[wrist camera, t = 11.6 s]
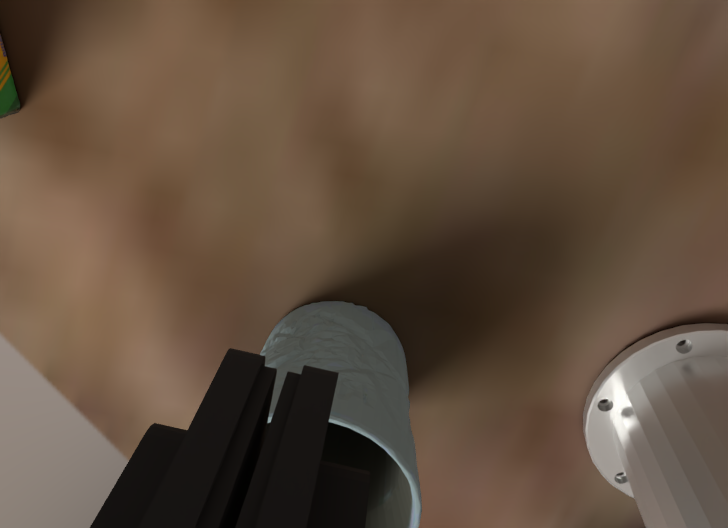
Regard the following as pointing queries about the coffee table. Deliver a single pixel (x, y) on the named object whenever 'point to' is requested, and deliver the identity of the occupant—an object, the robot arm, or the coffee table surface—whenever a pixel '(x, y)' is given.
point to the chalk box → (7, 87)
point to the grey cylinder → (357, 400)
